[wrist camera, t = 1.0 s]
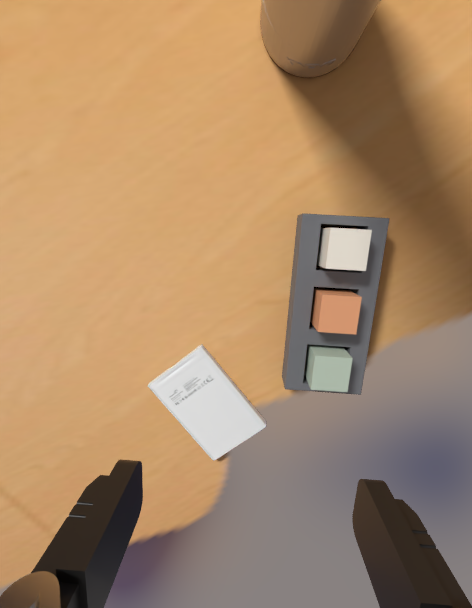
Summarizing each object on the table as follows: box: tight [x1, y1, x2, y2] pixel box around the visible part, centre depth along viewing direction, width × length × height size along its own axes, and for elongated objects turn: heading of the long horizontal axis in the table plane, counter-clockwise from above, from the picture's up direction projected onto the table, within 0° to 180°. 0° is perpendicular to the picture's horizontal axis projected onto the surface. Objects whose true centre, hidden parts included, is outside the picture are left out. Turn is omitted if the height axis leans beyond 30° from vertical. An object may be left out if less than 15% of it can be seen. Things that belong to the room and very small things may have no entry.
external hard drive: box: [148, 344, 266, 460], centre depth 36 cm, size 2×8×12 cm
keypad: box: [282, 214, 389, 394], centre depth 32 cm, size 18×8×3 cm, turn 177°
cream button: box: [317, 228, 372, 271], centre depth 28 cm, size 4×4×3 cm
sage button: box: [305, 344, 353, 392], centre depth 31 cm, size 4×4×3 cm
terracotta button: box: [311, 289, 362, 334], centre depth 30 cm, size 4×4×3 cm
